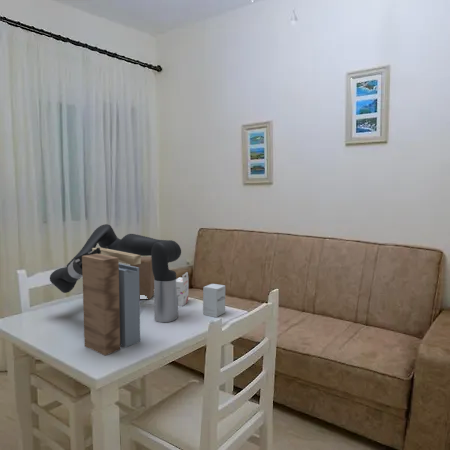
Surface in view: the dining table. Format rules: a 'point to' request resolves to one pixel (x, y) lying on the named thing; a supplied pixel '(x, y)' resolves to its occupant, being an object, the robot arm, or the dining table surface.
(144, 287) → the wooden block
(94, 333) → the walnut tower
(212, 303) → the supplement box
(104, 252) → the bar
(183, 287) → the ink cartridge box
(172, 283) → the robot arm
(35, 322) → the dining table surface
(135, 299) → the grey post
